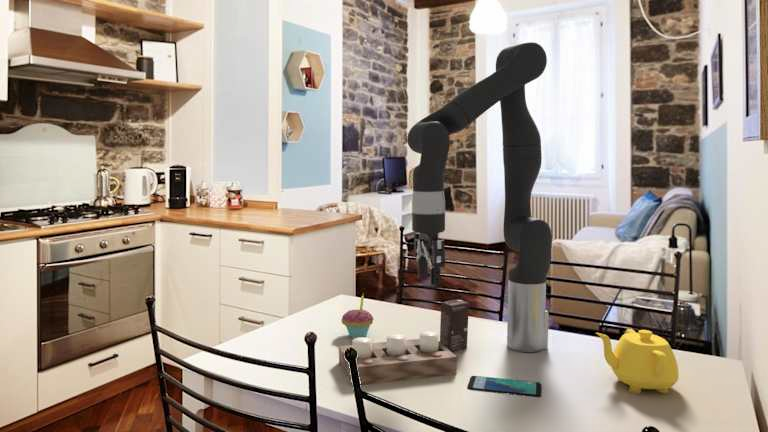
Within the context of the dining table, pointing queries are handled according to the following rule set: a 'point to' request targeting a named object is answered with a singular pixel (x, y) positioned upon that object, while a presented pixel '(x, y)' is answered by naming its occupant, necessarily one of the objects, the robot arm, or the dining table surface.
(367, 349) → the button
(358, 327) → the cupcake
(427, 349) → the button
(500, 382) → the smartphone
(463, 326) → the box
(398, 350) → the button
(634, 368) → the teapot
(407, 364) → the board
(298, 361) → the dining table surface
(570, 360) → the dining table surface
